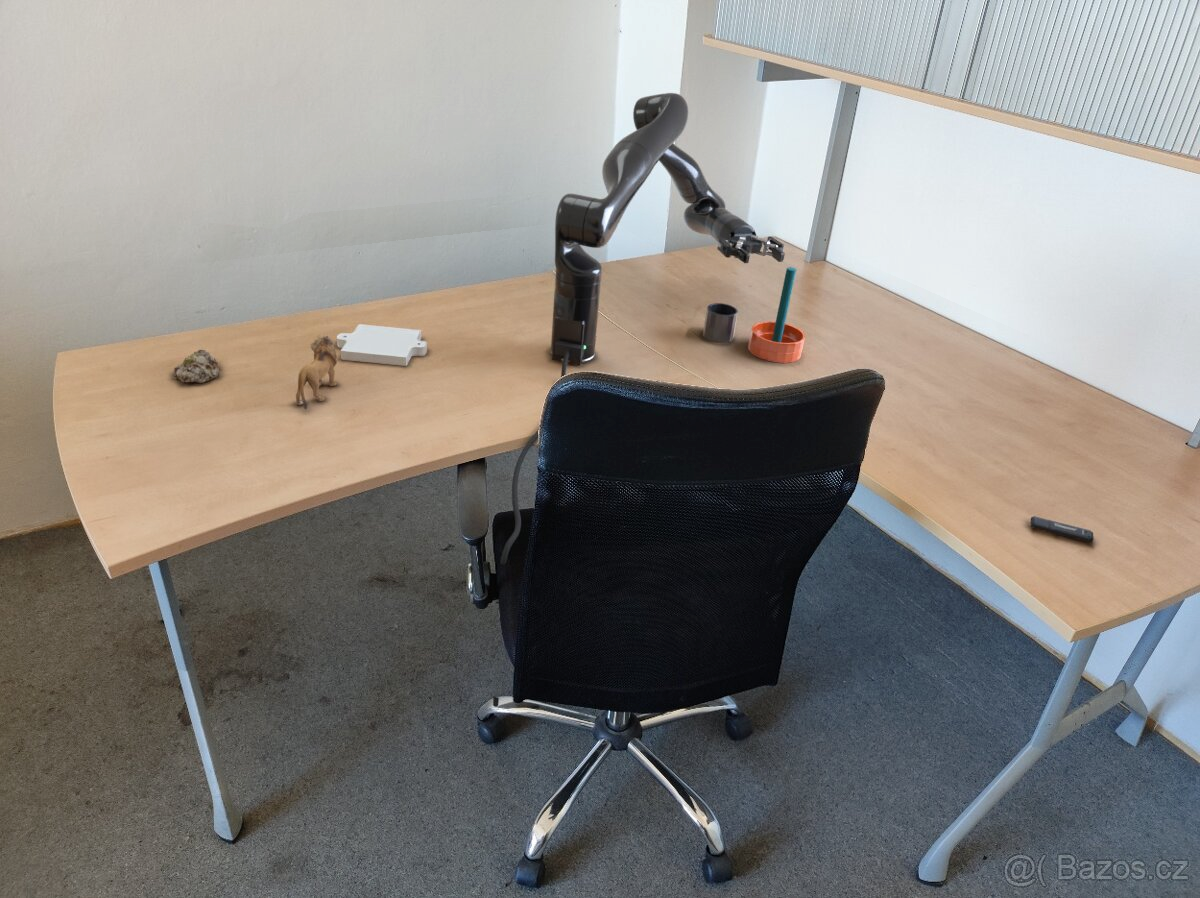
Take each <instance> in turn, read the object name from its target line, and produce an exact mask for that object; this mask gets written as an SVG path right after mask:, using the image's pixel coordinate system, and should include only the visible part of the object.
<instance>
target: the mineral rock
mask: <svg viewBox="0 0 1200 898" xmlns="http://www.w3.org/2000/svg"><path fill="white" fill-rule="evenodd" d="M219 374H220V366H219V364H218V361H217V359H216V358H215V357H213V355H211V352H209V351H206V349H198V350H196V351H194V352H193V353H192V354H190V355H188V356H187V357H185V358H184V360H183V361H182V363H181V364H178V365H176V366H175V367H173V375H174V379H175V380H179V381H181V382H182V383H197V384H202V383H205V382H208V381H210V380H212V379H215V378H217V377H218V376H219Z"/></svg>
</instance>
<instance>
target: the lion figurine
mask: <svg viewBox="0 0 1200 898" xmlns="http://www.w3.org/2000/svg"><path fill="white" fill-rule="evenodd" d="M309 347H310V349H311V351H313V361H312V362H311V363H310V364H307V365H304V366H302V368H301V369H300V370H299V373H298V378H297V390H296V394H295V404H296V406H301V405H303V409H304V410H307V409H308V403H307V401H306V398H305V386H306V385H307V384H308V385H309V386H310V387H311V389H312V392H313V393H312V394H313V395H312V396H313V397H314V398H315V399H316V400H317V401H318V402H323V401H325V397H324V396H323V395H320V393H319V392H320V391H319V390H320V386H322V385H323V381H322V379H324V378H326V376H327V375H328V379H329V380H328V384H329V386H331V387H335V386H337V383H336V382H335V375H336V371H335V367H336V365H337V363H338V361H337V359H338V355H337V351H336V346H335V342H334V340H332V338H331V337H329V336H328V335H326V334H319V335H317V336H316V338H315V339H314V340H313V342H312V343H310V344H309Z"/></svg>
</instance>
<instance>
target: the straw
mask: <svg viewBox="0 0 1200 898" xmlns="http://www.w3.org/2000/svg"><path fill="white" fill-rule="evenodd" d="M796 273H797V268H795V267H791V266H788V267H786V271H785V273H784V274H785V275H784V279H783V285H782V289H781V296H780V299H779V303H778V308H777V314H776V318H775V322H776V323H775V328H774V333H773V338H772V341H774V342H779V343H781V340H782V335H783V330H784V326H785V323H786V322H787V321H786V320H787V317H788V316H787V315H788V311H789V307H790V301H791V296H792V291H793V288H794V282H795V278H796Z"/></svg>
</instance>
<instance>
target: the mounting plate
mask: <svg viewBox="0 0 1200 898" xmlns="http://www.w3.org/2000/svg"><path fill="white" fill-rule="evenodd" d="M421 339H422V330H421V329H414V328H413V329H411V328H404V327H403V328H402V327H392V326H383V325H382V326H381V325H372V324H361V323H359V324H358V325H357V326H356V328H355V329H354V331H353V332H351V333H350V332H349V333H348V332H342V333H339V334H337V336H336V344H337V348H339V349H340V360H343V361H353V362H361V363H362V362H363V363H373V364H382V365H393V366H400V367H401V366H403V367H408V364H409V362H410V360H411V359H412V357H415V356H417V357H423V356H426V355H427V353H428V342H427V341H425V340H421Z"/></svg>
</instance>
